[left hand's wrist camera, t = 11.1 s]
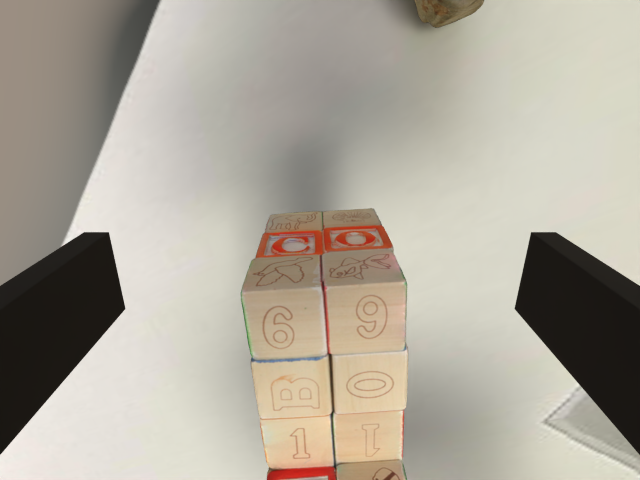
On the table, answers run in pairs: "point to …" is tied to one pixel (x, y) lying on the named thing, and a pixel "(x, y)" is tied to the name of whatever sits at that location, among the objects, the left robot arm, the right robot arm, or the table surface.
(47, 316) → the left robot arm
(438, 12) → the sculpture
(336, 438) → the stack of blocks
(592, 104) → the table surface
